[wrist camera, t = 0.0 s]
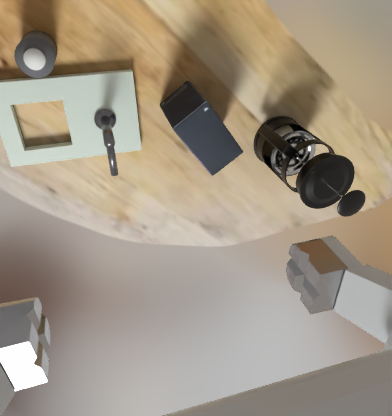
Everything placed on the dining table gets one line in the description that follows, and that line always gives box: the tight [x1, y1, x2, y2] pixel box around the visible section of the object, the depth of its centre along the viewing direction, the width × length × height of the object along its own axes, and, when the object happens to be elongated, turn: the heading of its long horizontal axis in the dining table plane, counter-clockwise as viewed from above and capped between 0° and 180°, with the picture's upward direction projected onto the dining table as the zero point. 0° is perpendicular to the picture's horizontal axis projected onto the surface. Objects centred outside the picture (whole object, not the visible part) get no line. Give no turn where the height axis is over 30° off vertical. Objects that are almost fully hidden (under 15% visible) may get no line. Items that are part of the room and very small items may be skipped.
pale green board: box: [0, 69, 142, 167], centre depth 54 cm, size 12×20×2 cm, turn 91°
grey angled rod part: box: [94, 109, 118, 176], centre depth 52 cm, size 7×3×10 cm, turn 1°
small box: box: [160, 81, 243, 176], centre depth 55 cm, size 11×6×10 cm, turn 36°
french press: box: [254, 116, 365, 216], centre depth 57 cm, size 12×9×23 cm
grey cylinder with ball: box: [15, 31, 57, 78], centre depth 45 cm, size 4×4×8 cm
